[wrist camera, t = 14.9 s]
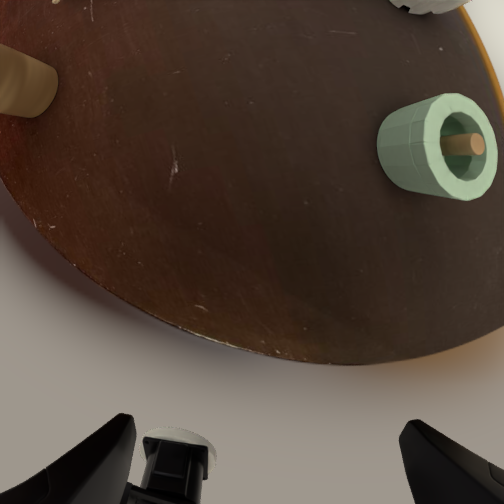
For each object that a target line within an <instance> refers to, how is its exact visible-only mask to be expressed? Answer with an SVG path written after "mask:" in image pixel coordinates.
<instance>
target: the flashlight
mask: <svg viewBox="0 0 504 504" xmlns="http://www.w3.org/2000/svg"><path fill="white" fill-rule="evenodd" d="M389 1H390V2H391V3H392V4H394V5H395V6H396V7H398V8H400V7H401V6H402V5H405V6H407V7H410V10H409V12H408V13H412V14H421V15H422V14H426V13H428V12H431V11H432V12H433V14H442V13H445V12H448V11H450V10H453V9H455V8H457V7H459V6H462V5H464V4H465V3H468V2H470V1H472V0H389Z"/></svg>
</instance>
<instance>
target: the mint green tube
mask: <svg viewBox="0 0 504 504" xmlns="http://www.w3.org/2000/svg"><path fill="white" fill-rule="evenodd" d="M467 133H478V134H480V135H481V136H482V138H483V140H484V143H485V149H484V152H483V153H482V154H481V155H455V156H442V153H441V148H440V144H439V143H440V136H448V135H457V134H467ZM377 152H378V157H379V161H380V163H381V166H382V168H383V170H384V172H385V173H386V175H387V176H388V177H389V178H390V180H391V181H392V182H393V183H395V184H396V185H397V186H399V187H400V188H403V189H405V190H408V191H414V192H418V193H424V194H430V195H435V196H441V197H447V198H452V199H458V200H463V201H469V200H472V199H475V198H478V197H480V196H482V195H483V194H484V192H485V191H486V190H487V189H488V188H489V187H490V186H491V184H492V181H493V178H494V176H495V173H496V169H497V154H498V151H497V145H496V140H495V135H494V132H493V129H492V127H491V125H490V123H489V121H488V119H487V117H486V115H485V114H484V112H483V111H482V110H481V109H480V108H479V107H478V106H477V104H476V103H475V102H474V101H472V100H471V99H469V98H467V97H465V96H463V95H461V94H458V93H449V94H442V95H439V96H436V97H433V98H429V99H426V100H423V101H420V102H417V103H415V104H412V105H409V106H406V107H403V108H400V109H398V110H397V111H394V112H393V113H391V114H390V115H389V116H387V117H386V119H385V120H384V121H383V123H382V124H381V127H380V129H379V132H378V137H377Z"/></svg>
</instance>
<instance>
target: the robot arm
mask: <svg viewBox="0 0 504 504" xmlns="http://www.w3.org/2000/svg"><path fill="white" fill-rule="evenodd" d="M135 441H136V429H135V423H134V418H133V416H132V415H129V414H124V413H119V414H118V415H116V416H115V417H114V418H112V419H111V420H110V421H108V422H107V423H106V424H105V425H103V426H102V427H101V428H99V429H98V430H97V431H95V432H94V433H93V434H91V435H90V436H89V437H87V438H86V439H85V440H83V441H82V442H81V443H79V444H78V445H77V446H75V447H74V448H72V449H71V450H70V451H68V452H67V453H66V454H64V455H63V456H61V457H60V458H59V459H57V460H56V461H54V462H53V463H52V464H50V465H49V466H47V467H46V469H43V470H41V471H40V472H39V473H37V474H36V475H34V476H32V477H31V478H29V479H28V480H26V481H24V482H23V483H21V484H19V485H17V486H15V487H13V488H11V489H9V490H7V491H5V492H2V493H0V504H200V499H201V489H202V480H207V479H208V447H207V446H205V445H198V444H190V443H183V442H176V441H169V440H164V439H158V438H152V437H147V436H145V437H143V440H142V443H143V447H144V452H145V456H146V460H147V464H146V468H145V471H144V475H143V479H142V482H141V486H140V487H138V486H135V485H133V484H132V483H129V482H127V479H128V476H129V471H130V466H131V461H132V456H133V451H134V446H135ZM399 444H400V449H401V453H402V458H403V463H404V467H405V472H406V475H407V479H408V482H409V486H410V489H411V492H412V495H413V498H414V501H415V504H504V470H503V469H501V468H499V467H497V466H495V465H494V464H492V463H490V462H488V461H487V460H485V459H483V458H482V457H480V456H478V455H476V454H475V453H473V452H471V451H470V450H468V449H466V448H465V447H463V446H461V445H460V444H458V443H457V442H455V441H453V440H451V439H450V438H448V437H446V436H445V435H444V434H442V433H440V432H439V431H437V430H436V429H434V428H432V427H431V426H429V425H427V424H426V423H424V422H423V421H421V420H419V419H416V420H410V421H408V423H407V424H406V426H405V427H404V429H403V431H402V433H401V435H400V436H399Z"/></svg>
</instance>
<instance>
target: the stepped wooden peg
mask: <svg viewBox="0 0 504 504" xmlns="http://www.w3.org/2000/svg"><path fill="white" fill-rule="evenodd" d="M439 144H440V148H441V153H442V156H455V155H481V154H482V153H483V152H484V149H485V143H484V140H483V138H482V136H481V135H480V134H478V133H467V134H457V135H448V136H440V143H439Z"/></svg>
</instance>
